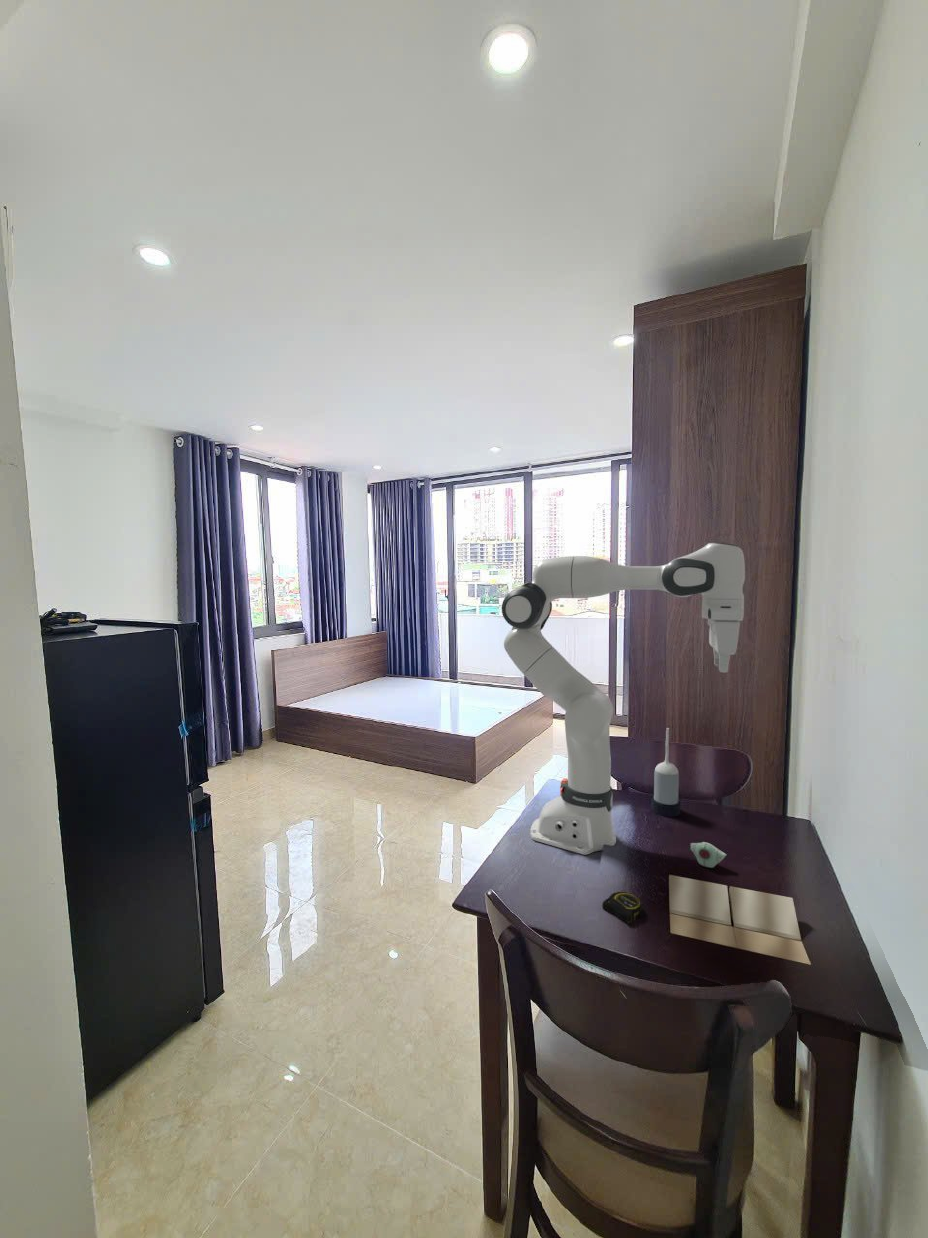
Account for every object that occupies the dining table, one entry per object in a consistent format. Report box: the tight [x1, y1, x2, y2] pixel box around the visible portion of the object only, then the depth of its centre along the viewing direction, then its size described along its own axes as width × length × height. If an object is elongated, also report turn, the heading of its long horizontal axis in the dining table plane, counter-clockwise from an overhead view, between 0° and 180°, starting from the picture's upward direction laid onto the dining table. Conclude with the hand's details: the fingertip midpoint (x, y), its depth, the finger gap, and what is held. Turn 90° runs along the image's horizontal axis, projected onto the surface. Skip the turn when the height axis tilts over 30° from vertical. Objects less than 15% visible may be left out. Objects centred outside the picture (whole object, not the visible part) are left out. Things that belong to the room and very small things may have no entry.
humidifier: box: [650, 727, 682, 818], centre depth 148 cm, size 8×8×25 cm
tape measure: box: [602, 891, 645, 927], centre depth 101 cm, size 7×7×4 cm
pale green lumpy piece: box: [690, 841, 728, 869], centre depth 117 cm, size 8×4×7 cm, turn 49°
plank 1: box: [668, 874, 732, 927], centre depth 101 cm, size 11×8×2 cm
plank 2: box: [728, 885, 802, 942], centre depth 97 cm, size 11×8×2 cm
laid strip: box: [669, 913, 812, 966], centre depth 93 cm, size 22×6×2 cm, turn 69°
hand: (720, 668), depth 119 cm, fingers open, 8 cm apart
